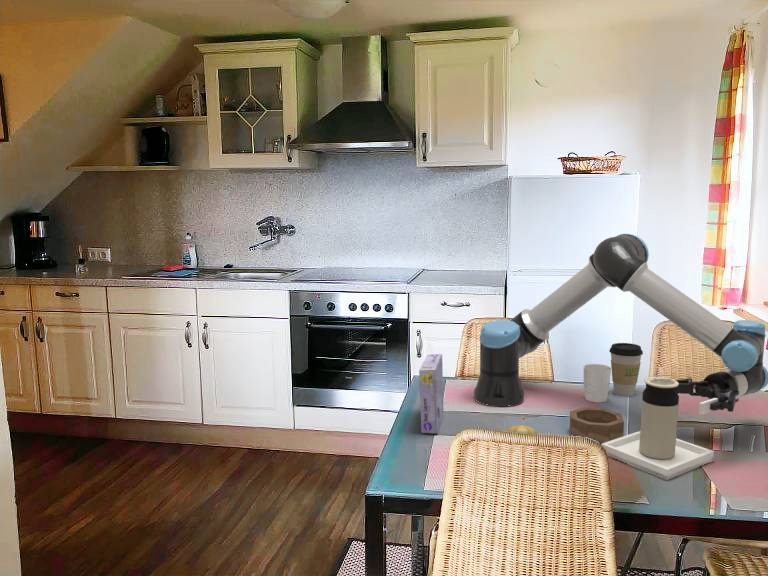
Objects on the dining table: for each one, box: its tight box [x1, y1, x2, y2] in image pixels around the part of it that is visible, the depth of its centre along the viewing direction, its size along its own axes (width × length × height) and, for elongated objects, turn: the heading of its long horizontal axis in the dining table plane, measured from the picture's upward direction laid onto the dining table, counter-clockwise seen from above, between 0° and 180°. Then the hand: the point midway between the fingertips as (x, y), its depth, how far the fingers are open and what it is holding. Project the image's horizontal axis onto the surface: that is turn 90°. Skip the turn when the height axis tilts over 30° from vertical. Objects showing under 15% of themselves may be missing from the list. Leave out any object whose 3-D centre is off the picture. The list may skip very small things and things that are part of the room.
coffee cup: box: [609, 342, 644, 397], centre depth 209 cm, size 10×10×15 cm
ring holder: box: [569, 407, 625, 443], centre depth 176 cm, size 13×13×5 cm
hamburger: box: [506, 415, 538, 434], centre depth 155 cm, size 8×7×12 cm
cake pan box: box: [418, 353, 445, 435], centre depth 185 cm, size 19×5×18 cm, turn 169°
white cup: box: [583, 363, 612, 403], centre depth 203 cm, size 8×8×10 cm
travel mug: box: [639, 376, 680, 459], centre depth 159 cm, size 8×8×18 cm
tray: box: [600, 430, 715, 481], centre depth 161 cm, size 18×18×2 cm
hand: (673, 401), depth 161 cm, fingers open, 13 cm apart
